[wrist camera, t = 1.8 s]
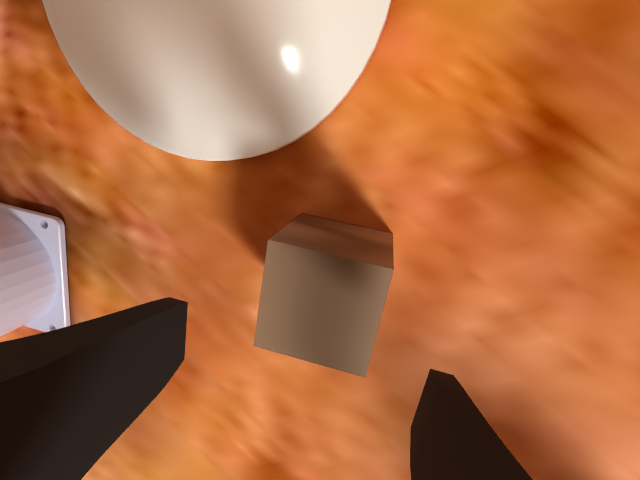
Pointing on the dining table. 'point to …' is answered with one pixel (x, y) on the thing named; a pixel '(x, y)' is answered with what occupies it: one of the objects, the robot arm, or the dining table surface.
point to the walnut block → (324, 292)
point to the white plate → (218, 67)
